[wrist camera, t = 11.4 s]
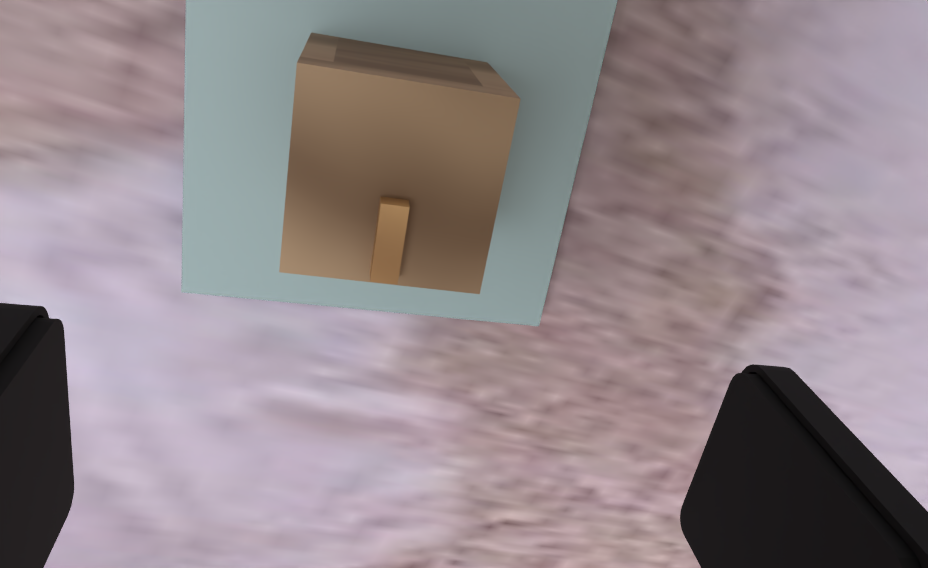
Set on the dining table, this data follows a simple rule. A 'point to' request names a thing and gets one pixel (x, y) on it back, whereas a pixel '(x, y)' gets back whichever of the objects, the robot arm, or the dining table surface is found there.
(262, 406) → the dining table surface
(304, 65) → the light brown wooden cube
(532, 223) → the shaft base
